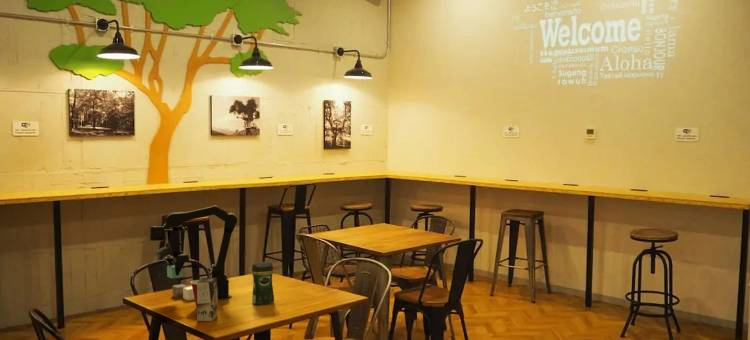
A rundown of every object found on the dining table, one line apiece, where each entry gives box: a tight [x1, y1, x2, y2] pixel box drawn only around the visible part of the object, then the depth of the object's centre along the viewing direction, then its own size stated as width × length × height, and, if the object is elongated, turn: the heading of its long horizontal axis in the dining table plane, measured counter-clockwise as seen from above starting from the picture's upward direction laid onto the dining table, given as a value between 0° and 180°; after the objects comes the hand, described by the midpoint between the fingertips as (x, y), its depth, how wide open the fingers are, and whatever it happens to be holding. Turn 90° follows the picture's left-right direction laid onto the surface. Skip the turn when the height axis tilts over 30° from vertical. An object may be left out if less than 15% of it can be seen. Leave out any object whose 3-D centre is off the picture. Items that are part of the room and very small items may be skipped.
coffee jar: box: [251, 261, 275, 306], centre depth 306 cm, size 10×8×19 cm
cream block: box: [182, 285, 195, 301], centre depth 315 cm, size 5×5×5 cm
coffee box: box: [196, 277, 219, 322], centre depth 282 cm, size 9×6×16 cm
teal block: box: [166, 265, 183, 279], centre depth 310 cm, size 5×5×5 cm
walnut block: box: [172, 283, 188, 299], centre depth 319 cm, size 5×5×5 cm
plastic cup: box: [190, 279, 200, 309], centre depth 298 cm, size 11×11×12 cm
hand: (174, 274), depth 310 cm, fingers closed on teal block, 5 cm apart
